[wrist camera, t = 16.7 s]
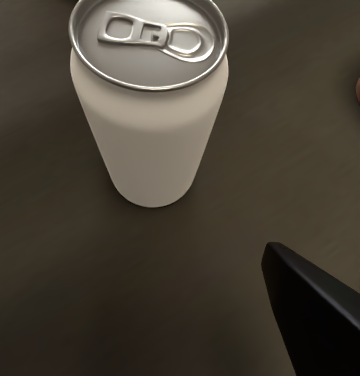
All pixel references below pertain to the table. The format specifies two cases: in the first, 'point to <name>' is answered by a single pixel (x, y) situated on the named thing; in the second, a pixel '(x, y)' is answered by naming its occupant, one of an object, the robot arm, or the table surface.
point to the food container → (358, 90)
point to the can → (149, 88)
